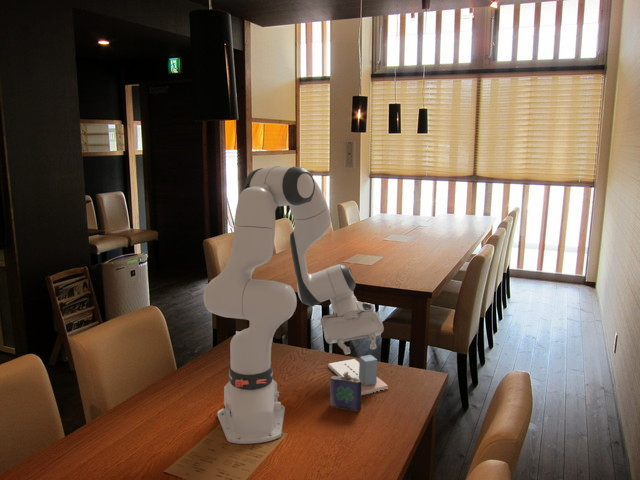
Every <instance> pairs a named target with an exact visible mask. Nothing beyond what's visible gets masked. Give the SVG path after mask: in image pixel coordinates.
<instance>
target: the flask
mask: <svg viewBox="0 0 640 480" xmlns="http://www.w3.org/2000/svg"><path fill="white" fill-rule="evenodd" d="M348 373H349V372H345V373H344V374H343V375H344V377H342V376H338V375H332V376H331V377H330V379H329V383H330V384H329V385H330V387H329V388H330V389H329V406H330V407H331V408H334V409H340V410H348V411H354V412H359V411H361V409H362V395H361V385H362V384H361V380H360V379H357V378H352V377H351V376H350V375H348Z"/></svg>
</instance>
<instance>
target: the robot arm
mask: <svg viewBox="0 0 640 480" xmlns="http://www.w3.org/2000/svg"><path fill="white" fill-rule="evenodd" d="M243 187H244V188H243V189H242V191H241V192H240V194H239V196H238V200H237V204H236V208H235V214H234V215H235V216H234V223H233V224H234V225H233V238H232V245H231V252H230V256H229V259H228V261H227V263H226V265H225V266H224V268H223V270H222V271H221V272H220V273H219V274H218V275H217V276H215V277H214V278H213V279H211V280H210V281H209V282H208V283H207V285H206V286H205V288H204V291H203V302H204V305H205V306H204V307H205V308H206V309H207V311H208V312H209V313H211V314H215V315H217V316H220V317H223V318H230V319H240V320H247V321H249V327H248V328H244V329H242V330H241V331H239V332H237V333H235V334H234V335H233V337H232V338H231V340H230V344H229V345H230V346H229V347H230V348H229V349H230V357H229V358H230V359H229V360H230V365H229V367H228V380H229V381H228V382H227V383H226V384H225V385H224V387H223V395H224V396H223V408H221V409H219V410H218V411H217V415H216V416H217V418H218V421H219V424H220V426H221V428H222V431H223V433H224V436H225V438H226V440H227V442H229V443H232V444H238V445H239V444H241V445H242V444H243V445H246V444H260V443H266V442H270V441H273V440H274V441H275V440H276V439H280V438H281V436H282V433H283V426H284V418H285V411H286V409H285V406H284V405H283V404H282V402H281V401H278V397H280V391H278V382H277V381H276V380H274V378H273V377H274V376H273V374H274V371H273V370H274V369H273V364H272V361H271V359H272V343H273V338H274V335H275V333H276V331H277V329H278V328H280V326H281V325H282V324H283V323H285V322H287V321H288V320H289V319H290V318H291V317H292V316H293V315H294V314H295V313H294V312H296V308H297V304H298V303H297V302H298V300H297V295H298V298H299V300H300V301H301V303H302V304H303V305H307V306H309V307H315V306H317V305H319V304H321V303H323V302H326V301H328V300H330V303H331V309H332V312H333V314H328V315H327V314H326V315H322V316H323V317H321V318H320V325H321V327H322V329H323V336H324V339H325V342H326V343H327V344H328V345H329V344H330V345H331V344H337V346H338V347H339V348H340V349H342V351H343V353H344V355H350V354H351V349H350V348H351V347H350V346H347V345H346V344H345V342H349V341H354V340H360V339H367V338H369V340H371V343H370V344H369V348H370V350H375V349H377V348H378V347H377V344H376V342H377V341H376V340H377V337H378V336H380V335H382V333H383V332H384V329H385V328H384V324H383V322H382V319H381V317H380V316H379V314H378V313H377V312H376V311H374V310H375V306H374V305H373V304H372V303H368V302H362V301H358V299H357V297H356V296H355V294H354V290H355V288H356V285H357V283H356V282H355V280H354V278H353V273H352V270H351V268H350V267H348V265H345V264H342V263H339V264H335V265H331V266H330V267H327V268H324V269H321V270H320V271H316V272H313V273H308V272H309V271H308V265H307V261H306V254H307V251H309V250H310V248H311V247H312V246H313V245H314V244H316V243H317V242H318V241H319V240H320V239H321V238H323V237H324V235H326V233H327V232H328V230H329V228H330V227H331V223H332V218H331V213H330V209H329V207H328V204H327V200H326V198H325V196H324V194H323V192H322V189H321V188H320V186H319V184H318V182H317V181H316V180H315V178H314V177H313V175H312V174H311V172H310V171H309V170H308V169H306V168H303V167H300V166H292V167H291V166H270V167H266V168H264V167H261V168H258V169H255V170H252V171H251V172H249V174H248V175H247V176H246V178H245V182H244V186H243ZM287 206H289V210H290V213H291V215H292V219H293V223H294V226H293V230H292V232H291V233H290V234H289V242H290V243H289V244H290V251H291V252H290V253H291V256H292V257H291V258H292V261H293V268H294V272H295V276H296V289H297V295H296V292H295V290H294V288H293V286H292V285H290V284H287V283H284V282H280V281H276V280H269V279H257V278H256V279H255V278H252V277H253V273H254V271H255V269H256V268H258V267H261V266H263V265H265V264H267V263H268V262H269V261H270V260H271V259H272V258H273V256H274V251H275V250H274V247H275V236H276V235H275V233H276V211H277V208H278V207H287Z"/></svg>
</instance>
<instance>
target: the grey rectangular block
mask: <svg viewBox="0 0 640 480" xmlns="http://www.w3.org/2000/svg"><path fill="white" fill-rule="evenodd" d="M358 360H359V361H358V362H359V379H360V380H361V383H362V384H363V385H365V386H368V385H372V384H376V381H377V377H378V376H377V375H378V359H377V358H376V357H375V356H373V355H372V354H368V355H361V356H359V359H358Z"/></svg>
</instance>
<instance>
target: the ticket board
mask: <svg viewBox="0 0 640 480" xmlns="http://www.w3.org/2000/svg"><path fill="white" fill-rule="evenodd" d="M327 367H328V368H329V369H330V371H332V372H334V374H335V375H336V376H342V377H344V375H343V374H344V373H345V372H349V373H348V375H350V376H351V377H352V378H357V379H359V361H358V360H357V359H356V358H351V359H346V360H345V359H344V360H342V361H341V360H340V361H334V362H330V363H328V366H327ZM361 384H362V383H361ZM384 389H389V385H388V384H387V383H386V382H384V381H383V380H382V379H381V378H380V377H378V376H377V381H376V384H372V385H368V386H365V385H363V384H362V385H361V396H363V395H368V394H373V392H374V393H377V392H376V391H378V392H381V391H380V390H383V391H385V390H384Z"/></svg>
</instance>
